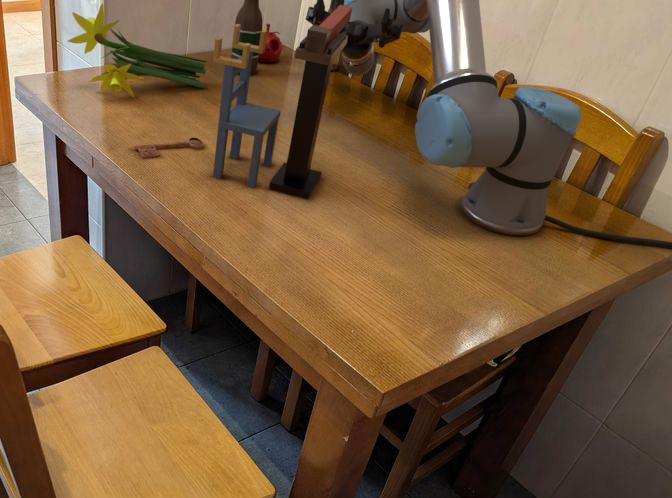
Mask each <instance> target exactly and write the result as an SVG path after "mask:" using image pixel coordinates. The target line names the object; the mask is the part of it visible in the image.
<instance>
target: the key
mask: <svg viewBox="0 0 672 498" xmlns="http://www.w3.org/2000/svg"><path fill="white" fill-rule="evenodd" d="M193 141H195V142H198V143H199V144H195V142H193ZM185 146H190V147H191V148H194V149H200V148H202V147H203V146H204V143H203V141H202V140H201V139H200V138H198V137H190V138H188V139H187V141H176V142H164V143H151V144H140V145H133V150H135V151H138V152H139V154H140V156H141V158H143V159H144V158H153V157H160V154H159V152H158V150H157V149H160V148H161V149H163V148H170V147H185Z"/></svg>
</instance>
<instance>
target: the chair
mask: <svg viewBox="0 0 672 498" xmlns="http://www.w3.org/2000/svg"><path fill="white" fill-rule="evenodd" d="M240 28H241V25H240V24H236V25H235V24H234V25H233V31H232V32H233V33H232V42H231V49H232V48H237V49H241V50H243V53H242V56H241V57H239V58H238V59H232V58H231V57H228V56H223V55H221V54H222V48H223V47H222V45H223V37H221V36H217V37H216V38H215V39H214V49H213V57H212V58H213V59H212V62H213V63H216V64H220V65H224V68H223V76H222V77H223V78H222V87H221V95H220V96H221V97H220V104H219V105H220V106H219V115H218V116H219V117H218V126H217V135H216V144H215V153H214V162H213V172H212V177H213V178H217V179H222V177H223V176H224V171H225V163H226V162H225V161H226V152H227V147H228V146H227V145H228V137H229V136H228V135H229V131H231V132H232V136H231V143H230V151H229V152H230V153H229V158H231V159H234V160H238V159H239V158H240V154H241V146H242V139H243V134H244V135H247V136H251V137H253V144H252V151H251V157H250V165H249V171H248V173H249V174H248V179H247V184H246V185H247V187H250V188H255V187H256V186H257V182H258V175H259V170H260V168H259V167H260V162H261V155H262V150H263V142H264V136H265V135H266V134H267V138H266V144H265V151H264V157H263V163H262V164H263V165H262V166H265V167H269V168H270V167H271V166H272V162H273V157H274V151H275V145H276V139H277V134H278V133H277V132H278V128H279V127H278V126H279V121H280V117H281V113H282V111H281V110H280V109H276V108H271V107H267V106H262V105H258V104H254V103H250V102H248V94H249V87H250V79H251V78H250V77H251V75H250V72H251V64H252V57H253V52H255V53H260V54H263V53H264V52H265V45H266V38H267V31H268V30H266V29H262V31H261V36H260V43H259V46H256V45H251V44H249V43H242V42H239V36H240ZM239 73H240V75H239V79H238V82H237V83H235V77H237V76H238V74H239ZM234 84H235V85H234ZM235 99H236V103H235V106H234V107H233V108H232V103H233V101H234V100H235Z"/></svg>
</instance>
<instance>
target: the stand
mask: <svg viewBox="0 0 672 498" xmlns="http://www.w3.org/2000/svg"><path fill="white" fill-rule="evenodd" d="M306 37H307V35H306V36H305V37H304V38H303V39H302V40H301V41H300V42H299V45H298V46H297V47H296V48H295V50H294V51H295V52H294V59H297V60H301V61H305V63H304V68H303V74H302V79H301V83H300V84H301V85H300V89H299V95H298V101H297V107H296V111H295V117H294V123H293V127H292V133H291V138H290V144H289V150H288V155H287V159H286V160H287V161H286V162H283V163H282V164H281V166H280V167H279V168H278V170H277V171H276V173H275V174H274V175H273V177H272V179H271V180H270V181H269V185H268V190H270V191H274V192H278V193H281V194H286V195H289V196H292V197H297V198H301V199H304V200H309V199H310V197H311V196H312V194H313V192H314V191H315V189H316V187H317V186H318V184H319V182H320V180H321V177H322V173H323V172H322V171H319V170H315V169H311V166H312V161H313V158H314V153H315V147H316V143H317V137H318V133H319V128H320V124H321V119H322V114H323V109H324V105H325V100H326V95H327V90H328V86H329V81H330V77H331V72H332V71H331V67H332V63H333V60H334V59H335V58H336V57H337V55H338V54H339V53H340V54H341V50H342V49H343V48H344V47H345V45H346V44H347V39H348V35H346V32H345V31H343V32H342V33H341V34H338V35H337V36H336V37H335V38H334V39H333V40H332V41H331V42H330V44H329V45H328V48H327V50H326V51H325V52H324V54H319V53H314V52H310V51H305V50H304V48H305V43H306Z"/></svg>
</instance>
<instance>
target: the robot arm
mask: <svg viewBox="0 0 672 498" xmlns="http://www.w3.org/2000/svg"><path fill="white" fill-rule="evenodd" d="M344 6H349V7H352V12H351V17H350V21H349V22H348V23H347V24H346V25H345V27H344V28H343V29H342V30H341V31H340V32H339V33H338V34H341V33H342V32H343V31H345V32H346V35H348V39H347V44H346V45H345V47H344V48H343V49H342V50H341V52H340V55H341V58H342V65H343V67H344V69H345V70H346V72H347V73H348V74H350V75H352V76H355V77H356V76H357V77H359V76H360V77H361V76H364V75H365V74H368V72H369V71H370V70H371V69H372V68H373V66H374V63H375V59H376V58H375V57H376V55H375V54H376V53H375V43H376V45H377V46H378V47H379V48H381V49H383V48H385V46H386V45H389V44H391V43H393V42H396V41H398V40H400V39H401V35H402V33H409V34H418V33H420V34H422V33H427V32H428V31H429V41H430V42H429V43H430V52H431V64H432V76H433V86H432V87H431V88H430V89H429V90H428V91H427V94H426V98H425V99H424V100H423V101H422V102H421V104H420V106H419V108H418V110H417V113H416V119H417V122H415V125H414V126H415V127H414V133H415V135H414V136H415V141H416V145H417V148H418V150H419V153H420V154H421V156H422V157H423V159H424V160H426V161H427V162H428V163H430V164H431V165H434V166H440V167H441V166H442V167H448V168H453V169H454V168H455V169H456V168H485V169H484V170H483V172H482V173H481V174H480V175H479V176H478V178H476V180H475V181H473V182H470V183H469V184H468V187H467V191H466V192H465V194H464V195H463V198H462V200H461V203H460V210H461V212H462V213H463V214H464V216H465V217H466V218H467V219H469V221H471V222H472V223H474V224H476V225H478V226H479V227H481V228H484V229H486V230H489V231H492V232H493V233H494V232H495V233H498V234H502V235H508V236H515V237H517V236H518V237H523V236H530V235H534V234H536V233H538V232H539V231H540V230H541V229H542V226H543V224H544V222H545V221H546V222H548V223H550V224H552V225H556V226H558V227H560V228H563V229H565V230H568V231H571V232H573V233H577V234H582V235H585V236H589V237H595V238H601V239H607V240H614V241H618V242H625V243H633V244H634V243H635V244H644V245H651V246H658V247H665V248H672V241H667V240H660V239H659V240H658V239H652V238H643V237H636V236H635V237H634V236H626V235H619V234H613V233H607V232H600V231H595V230H590V229H586V228H582V227H578V226H575V225H572V224H569V223H567V222H565V221H562V220H560V219H557V218H555V217H552V216H550V215H547V214H546V212H547V205H548V193H549V188H550V186H551V184H552V182H553V180H554V177H555V176H556V173H557V172H558V169H559V168H560V165H561V163H562V161H563V159H564V157H565V155H566V153H567V151H568V149H569V147H570V145H571V143H572V141H573V139H574V137H576V134H577V133H576V132H577V129H578V128H579V125H580V122H581V121H582V117H583V115H582V110H581V109H580V107H579V106H578V105H577V104H576V103H575V102H573V101H571V100H570V99H569V98H566V97H564V96H562V95H560V94H557V93H555V92H553V91H550V90H547V89H543V88H541V87H537V86H530V85H524V86H523V85H522V86H520V87H518V88H517V89H516V91H515V92H514V93H513V95H514V97H500V96H499V89H498V81H497V78H496V77H495V76H494V75H492V74H490V73H488V72H487V67H486V56H485V45H484V38H483V37H484V36H483V27H482V26H483V25H482V16H481V6H480V0H344ZM330 15H331V14H330V13H329V12H328V10H326V6H325V1H324V0H316V3H314V4H313V6H308V9H307V13H306V16H305V21H307V22H308V23H310V24H311V26H312V25H315V26H319V25H320V24H321V23H322V22H323V21H324V20H325V19H326V18H328V17H329V16H330Z"/></svg>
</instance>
